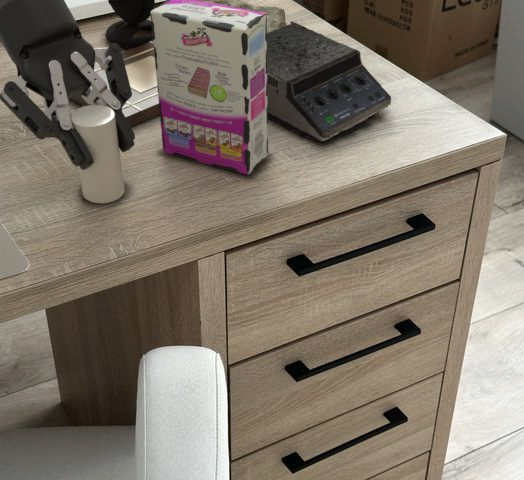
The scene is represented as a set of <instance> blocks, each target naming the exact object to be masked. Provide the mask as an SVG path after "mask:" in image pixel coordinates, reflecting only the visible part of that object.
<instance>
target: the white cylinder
mask: <svg viewBox="0 0 524 480" xmlns="http://www.w3.org/2000/svg"><path fill="white" fill-rule="evenodd" d="M70 117H71V122H72V129H76V130H77V131H78V132H79V134H80V136H81V138H82V140H83V141H84V143H85V145H86V147H87V148H88V150H89V152H90V154H91V156H92V157H93V160H94V163H93V164H92V165H91V166H90V167H89V168H87V169H85V170H82V169H81V168H80V166H77V167H78V173H79V179H80V185H81V190H82V191H81V192H82V196H83V197H84V199H85V200H87V201H88V202H90V203H94V204H108V203H113V202H115V201H117V200H119V199H121V197H123V195H124V194H125V182H124V181H125V180H124V174H123V165H122V159H121V158H122V157H121V150H120V148H119V142H118V134H117V126H116V119H115V112H114V111H113V110H112V109H111V108H109V107H107V106H103V105H88V106H84V107H82V106H81V107H78V108H76V109H75V110H74V111H72V113H71V114H70Z"/></svg>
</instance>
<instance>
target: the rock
mask: <svg viewBox="0 0 524 480" xmlns="http://www.w3.org/2000/svg"><path fill="white" fill-rule="evenodd" d="M212 3H215V4H221V5H226V6H231V7H236V8H242V9H247V10H251V11H257V12H262V13H267V17H266V19H267V33H268V32H271V31H274V30H276V29H280V28H281V27H284V26H286V25H288V24H287V23H286V12H285V9H284V8H280V7H277V6H262V5H254V4H253V3H248V2H246V1H242V0H214V1H212Z"/></svg>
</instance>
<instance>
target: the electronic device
mask: <svg viewBox="0 0 524 480" xmlns="http://www.w3.org/2000/svg"><path fill="white" fill-rule="evenodd" d="M391 104H392V96H391V95H390V94H389V92H388V91H387V90H386V89H385V88H384V87H383V86H382V85H381V84H380V82H379V81H378V80H377V79H376V78H375V77H374V76H373V75H372V74H371V73H370V71H369V70H368V69H367V68H366V66H365V65H364V64H363V62H362V57H361V51H359V50H358V49H355V48H353V47H351V46H348V45H347V44H344V43H341V42H338V41H337V40H334V39H332V38H330V37H328V36H326V35H324V34H322V33H319V32H316V31H314V30H313V29H310V28H307V27H306V26H304V25H301V24H299V23H297V22H294V21H293V20H292V21H290V23H289V24H287V25H286V26H284V27H281V28H280V29H276V30H274V31H271V32H268V33H267V109H268V111H267V114H268V120H270V121H273V122H276V123H278V124H279V125H281V127H283V128H284V129H286V130H288V131H293V132H294V133H296V134H298V135H299V136H300V137H303V138H304V137H305V138H309V139H311V140H313V141H315V142H317V143H326V142H329V141H331V140H332V139H333V138H338V137H340V136H344V135H347V134H350V133H352V132H353V131H356V130H357V129H359V128H361V127H363V126H364V125H365V124H366V123H367V120H368V119H369V118H370V117H372V116H373V115H374V114H377V113H380V112H381V111H383V110H385V109H387V108H389V106H391Z"/></svg>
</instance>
